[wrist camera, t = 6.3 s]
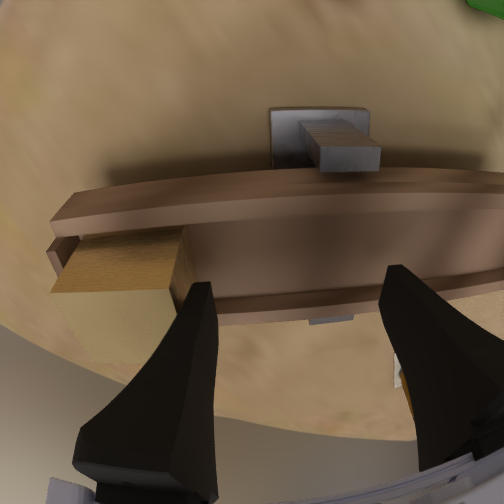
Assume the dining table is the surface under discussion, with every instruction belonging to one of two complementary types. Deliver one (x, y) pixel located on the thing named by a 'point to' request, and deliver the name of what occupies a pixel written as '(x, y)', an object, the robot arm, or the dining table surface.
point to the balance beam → (310, 234)
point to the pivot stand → (323, 146)
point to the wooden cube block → (125, 290)
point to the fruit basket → (489, 6)
